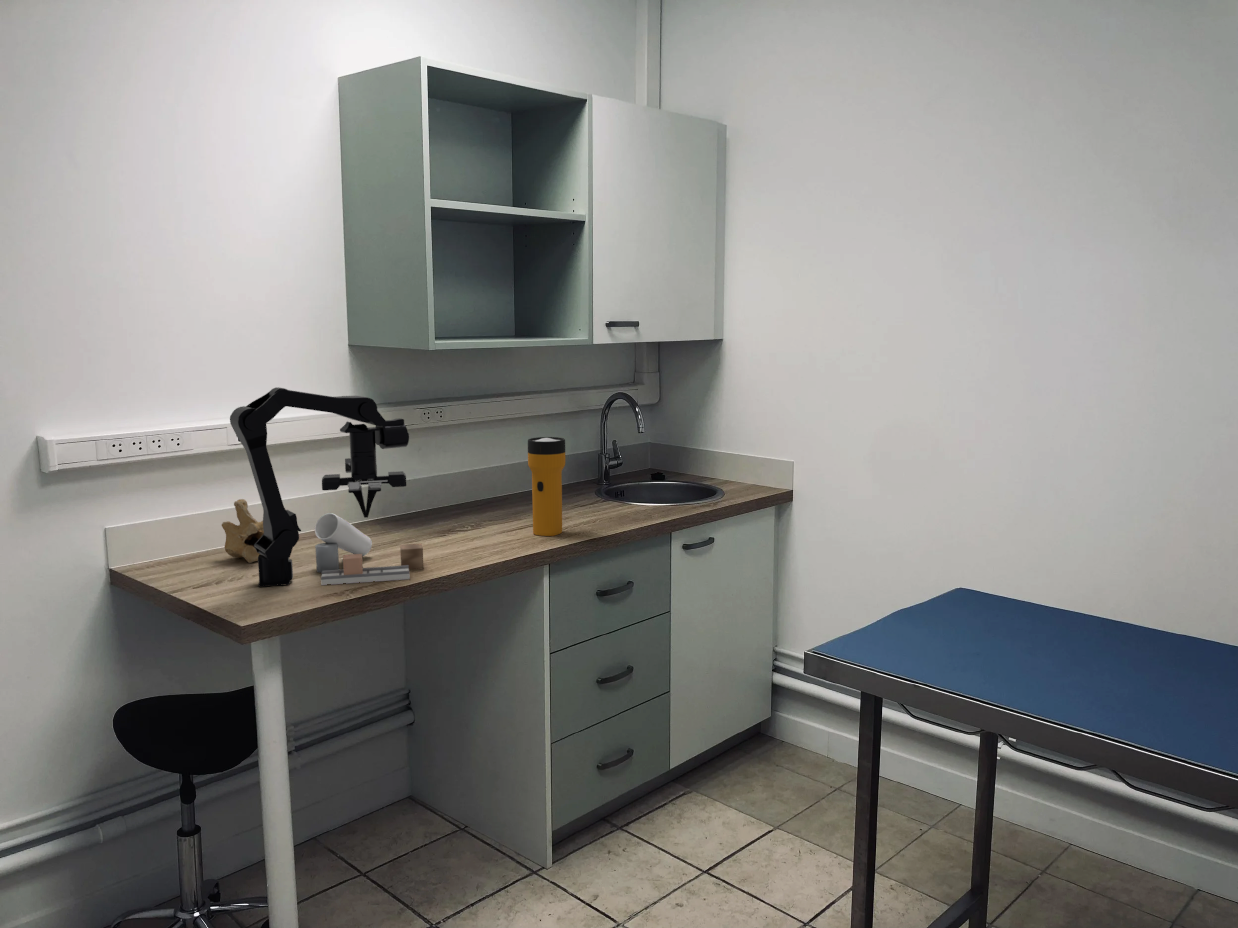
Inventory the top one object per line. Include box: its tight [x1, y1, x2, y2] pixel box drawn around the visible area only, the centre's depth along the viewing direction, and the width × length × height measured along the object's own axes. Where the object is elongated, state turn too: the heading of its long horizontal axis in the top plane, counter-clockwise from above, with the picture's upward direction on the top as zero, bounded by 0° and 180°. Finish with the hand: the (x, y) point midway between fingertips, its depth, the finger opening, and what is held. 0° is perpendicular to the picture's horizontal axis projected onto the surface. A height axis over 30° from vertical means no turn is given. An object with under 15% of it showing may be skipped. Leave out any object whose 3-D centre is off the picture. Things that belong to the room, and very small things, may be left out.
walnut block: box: [399, 543, 425, 571], centre depth 228 cm, size 5×5×5 cm
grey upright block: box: [315, 542, 340, 574], centre depth 225 cm, size 5×5×6 cm
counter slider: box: [342, 553, 364, 575], centre depth 217 cm, size 4×4×4 cm
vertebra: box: [221, 498, 264, 564], centre depth 234 cm, size 9×14×15 cm, turn 47°
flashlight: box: [527, 436, 566, 537], centre depth 260 cm, size 10×26×10 cm
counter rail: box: [320, 565, 411, 586], centre depth 218 cm, size 19×6×2 cm, turn 104°
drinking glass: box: [314, 512, 373, 557], centre depth 232 cm, size 7×7×15 cm
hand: (366, 517), depth 226 cm, fingers closed
